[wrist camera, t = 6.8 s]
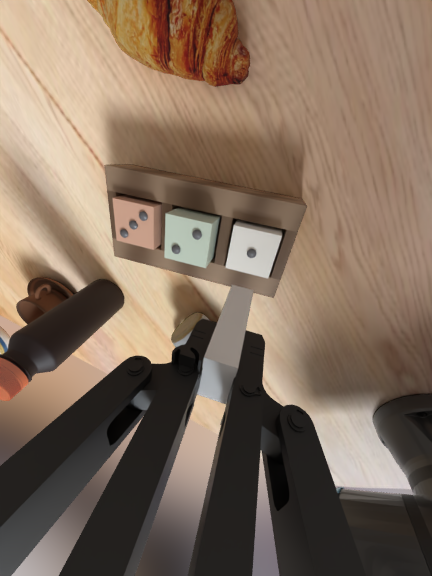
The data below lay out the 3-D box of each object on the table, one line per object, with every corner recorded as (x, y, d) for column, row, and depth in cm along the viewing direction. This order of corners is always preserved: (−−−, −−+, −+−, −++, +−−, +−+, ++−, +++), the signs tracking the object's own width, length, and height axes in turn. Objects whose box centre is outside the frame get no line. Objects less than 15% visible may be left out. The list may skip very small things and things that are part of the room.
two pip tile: (220, 216, 24) (211, 224, 21) (213, 256, 27) (205, 269, 24) (178, 207, 25) (164, 213, 22) (176, 247, 28) (163, 258, 24)
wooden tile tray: (302, 198, 25) (307, 206, 21) (274, 279, 31) (273, 297, 27) (130, 164, 28) (104, 164, 24) (134, 244, 34) (114, 256, 29)
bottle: (88, 293, 42) (-39, 381, 25) (99, 271, 38) (-40, 356, 21) (117, 314, 43) (14, 413, 26) (130, 295, 39) (20, 394, 22)
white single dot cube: (281, 227, 24) (282, 236, 21) (269, 266, 27) (267, 279, 24) (238, 217, 25) (233, 225, 22) (230, 256, 28) (225, 268, 25)
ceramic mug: (204, 302, 36) (188, 332, 30) (234, 334, 38) (225, 368, 32) (168, 326, 41) (149, 356, 35) (196, 353, 43) (182, 385, 37)
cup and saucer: (27, 270, 43) (-8, 284, 38) (77, 277, 41) (47, 294, 35) (49, 317, 49) (23, 335, 44) (94, 326, 47) (71, 346, 42)
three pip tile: (167, 202, 26) (152, 207, 23) (166, 241, 29) (152, 250, 26) (130, 194, 27) (111, 198, 24) (132, 232, 29) (115, 240, 26)
